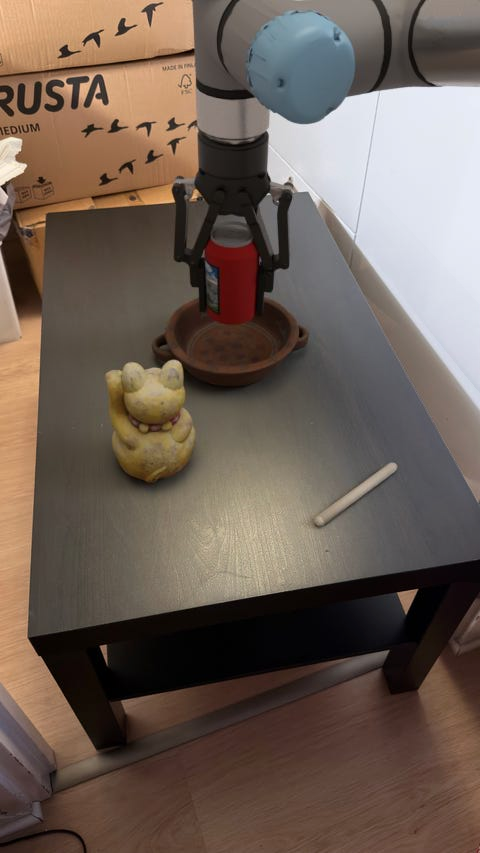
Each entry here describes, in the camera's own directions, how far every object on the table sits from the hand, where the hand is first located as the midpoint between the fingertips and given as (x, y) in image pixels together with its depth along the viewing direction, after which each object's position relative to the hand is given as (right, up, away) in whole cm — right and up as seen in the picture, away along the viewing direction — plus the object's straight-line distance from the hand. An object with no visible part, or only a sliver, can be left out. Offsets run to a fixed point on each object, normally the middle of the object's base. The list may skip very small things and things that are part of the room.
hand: (231, 307), depth 82 cm
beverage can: (0, -1, +1) cm, 1 cm away
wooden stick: (+15, -24, -10) cm, 30 cm away
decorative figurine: (-9, -20, -7) cm, 23 cm away
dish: (0, -6, +6) cm, 9 cm away
